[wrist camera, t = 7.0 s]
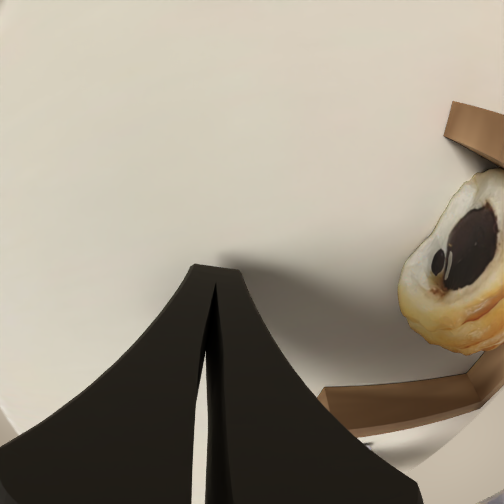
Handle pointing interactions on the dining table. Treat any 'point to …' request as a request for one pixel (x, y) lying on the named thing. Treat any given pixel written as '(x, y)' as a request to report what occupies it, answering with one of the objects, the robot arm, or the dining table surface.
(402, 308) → the pastry
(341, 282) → the dining table surface
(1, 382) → the dining table surface
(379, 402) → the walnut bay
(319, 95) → the dining table surface
